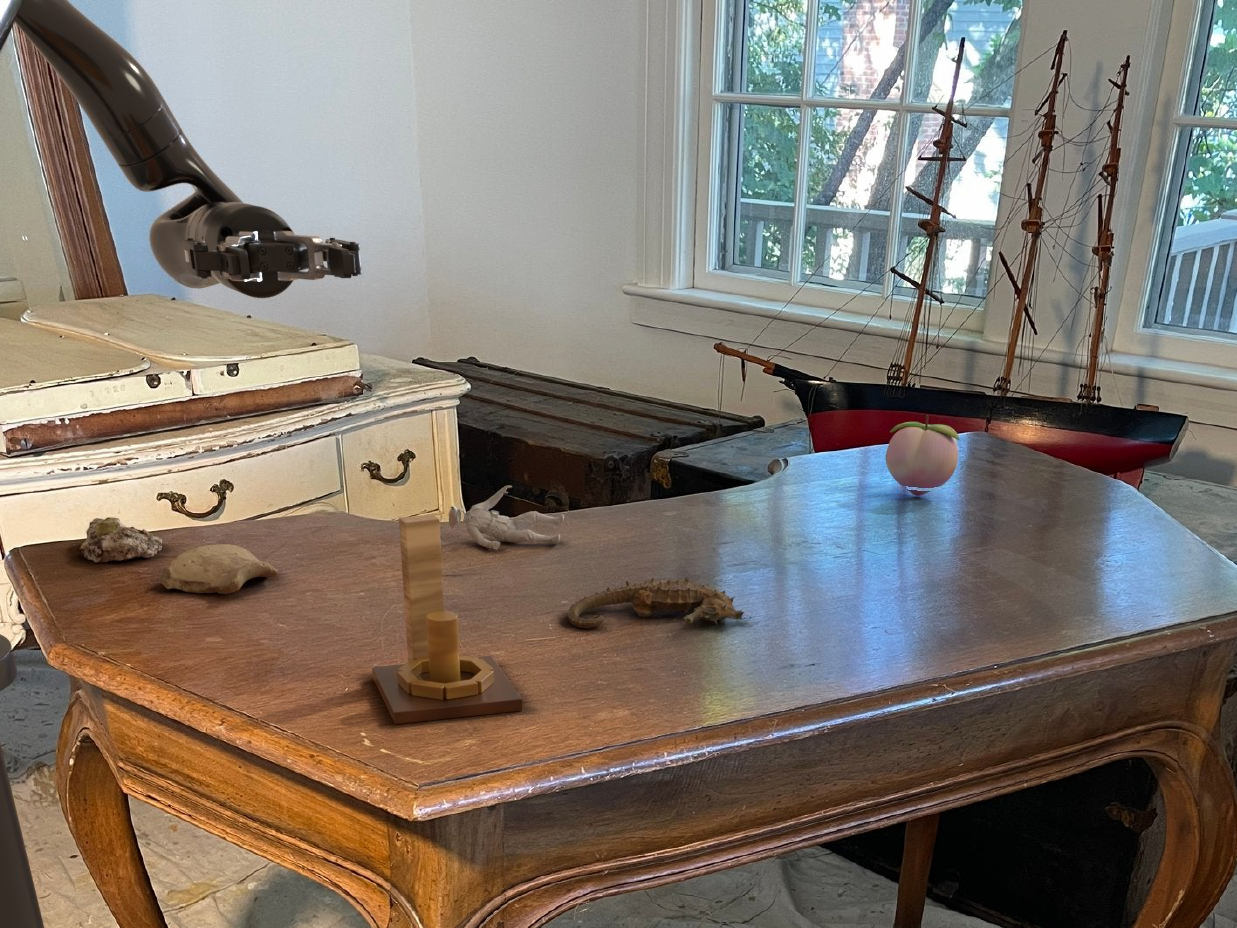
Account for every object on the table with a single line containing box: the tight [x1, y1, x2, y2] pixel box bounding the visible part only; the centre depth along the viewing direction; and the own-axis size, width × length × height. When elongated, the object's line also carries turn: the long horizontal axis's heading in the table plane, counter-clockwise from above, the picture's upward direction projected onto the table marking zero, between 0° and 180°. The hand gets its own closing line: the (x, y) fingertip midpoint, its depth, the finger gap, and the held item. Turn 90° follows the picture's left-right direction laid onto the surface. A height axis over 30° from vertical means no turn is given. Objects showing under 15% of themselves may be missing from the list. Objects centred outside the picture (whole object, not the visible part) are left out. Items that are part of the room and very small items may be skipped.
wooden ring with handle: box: [397, 514, 494, 700], centre depth 101 cm, size 9×7×12 cm
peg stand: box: [371, 610, 523, 725], centre depth 102 cm, size 10×10×6 cm
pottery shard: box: [158, 543, 279, 595], centre depth 126 cm, size 11×4×10 cm
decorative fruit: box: [885, 414, 961, 497], centre depth 165 cm, size 9×8×10 cm
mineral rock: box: [78, 516, 163, 564], centre depth 134 cm, size 11×4×8 cm
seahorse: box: [567, 576, 745, 629], centre depth 121 cm, size 9×16×3 cm, turn 86°
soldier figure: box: [448, 485, 565, 551], centre depth 142 cm, size 8×5×12 cm
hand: (297, 265), depth 107 cm, fingers open, 8 cm apart
